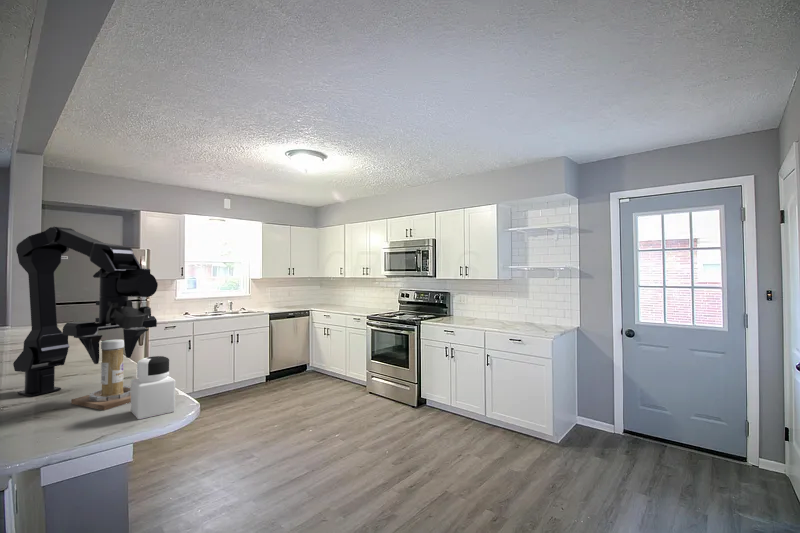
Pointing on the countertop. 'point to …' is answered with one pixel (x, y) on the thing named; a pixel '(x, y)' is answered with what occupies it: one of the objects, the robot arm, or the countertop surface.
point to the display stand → (103, 399)
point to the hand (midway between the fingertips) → (112, 360)
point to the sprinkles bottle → (112, 367)
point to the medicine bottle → (152, 388)
